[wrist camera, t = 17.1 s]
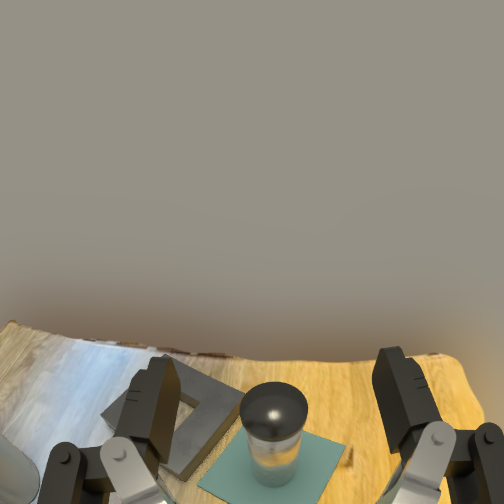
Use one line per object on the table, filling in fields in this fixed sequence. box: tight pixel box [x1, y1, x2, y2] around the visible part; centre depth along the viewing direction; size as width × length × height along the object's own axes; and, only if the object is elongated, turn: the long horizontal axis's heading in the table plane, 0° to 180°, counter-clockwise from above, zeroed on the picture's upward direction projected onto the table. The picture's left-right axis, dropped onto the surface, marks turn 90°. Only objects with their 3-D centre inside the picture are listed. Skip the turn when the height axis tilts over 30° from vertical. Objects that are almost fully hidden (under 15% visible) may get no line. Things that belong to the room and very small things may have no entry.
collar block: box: [100, 354, 245, 482], centre depth 37 cm, size 14×14×3 cm
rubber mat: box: [197, 426, 346, 504], centre depth 31 cm, size 13×13×1 cm
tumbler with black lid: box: [240, 382, 308, 488], centre depth 27 cm, size 5×5×15 cm
